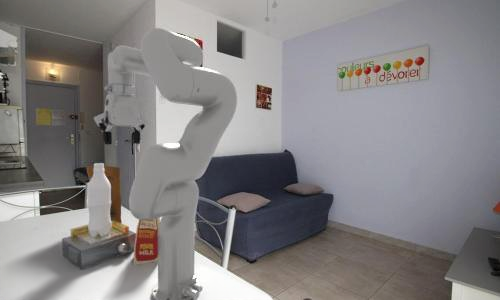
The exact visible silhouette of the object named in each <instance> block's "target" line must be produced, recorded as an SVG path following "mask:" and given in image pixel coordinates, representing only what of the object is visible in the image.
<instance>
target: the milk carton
mask: <svg viewBox="0 0 500 300" xmlns="http://www.w3.org/2000/svg"><path fill="white" fill-rule="evenodd" d="M160 221H161V217H159V218H155V219H151V220H139V219H138V221H137V226H136V230H135V233H136V237H135V244H134V250H133V265H140V264H141V265H142V264H149V263H158V228H159V224H160Z"/></svg>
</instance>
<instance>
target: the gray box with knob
mask: <svg viewBox="0 0 500 300" xmlns="http://www.w3.org/2000/svg"><path fill="white" fill-rule="evenodd" d="M111 222H112V227H111V231H110V232H109V233H107V235H105V236H100V234H99V233H98V235H97V236H96V237H92V236H91V235H90V233H89V230H88V224H84V225H82V226H77V227H74V228H70V235H69V236H67V237H63V238H61V244H62V245H61V246H62V248H61V249H62V257H64V258H65V259H66V260H68V261H70V262H71V263H72V264H73V265H75V266H76V267H77V268H79V270H85V269H87V268H88V269H89V268H90V267H93V266H96V265H98V264H101V263H104V262H106V261H109V260H111V259H114V258H117V257H120V256H122V255H125V254H127V253H130V252H134V244H135V237H136V232H134V231H132V230H130V226H128V225H126V224H124V223H119V222H117V221H115V220H111Z"/></svg>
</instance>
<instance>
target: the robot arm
mask: <svg viewBox="0 0 500 300" xmlns="http://www.w3.org/2000/svg"><path fill="white" fill-rule="evenodd" d="M202 50H203V49H202V48H201V46H200V45H199V43H197V42H196V41H195V40H194V39H192V38H189V37H187V36H185V35H181V34H179V33H176V32H173V31H170V30H168V29H165V28H161V27H155V28H151V29H149V30H147V31H146V33H144V35H143V36H142V39H141V42H140V48H135V47H132V46H128V45H124V44H123V45H122V44H121V45H118V46H116V47H115V49H113V51H110V52H109V53H108V55H107V74H108V75H107V79H108V81H107V82H108V83H107V85H105V86H104V88H103V89H104V91H107V95H106V96H105V102H104V103H105V104H104V111H103V113H101V114H98V115H96V116H94V117H93V121H94V122H95V123H96V126H97V127H98V128H99V130H101V132H102V133H103V134H102V137H103V142H104V145H110V146H111V145H112V144H113V141H112V140H113V138H112V131H111V130H112V128H113V127H130V128H131V129H132V130H133V132H132V143H133V144H139V145H140V143H141V133H142V131H143V130H144V128H145V126H146V124H147V121H148V120H147V119H146V118H144V117H142V116H141V115H140V105H139V101H138V98H137V96H135V78H134V77H135V76H134V74H137V75H141V76H146V77H151V79H152V80H153V83H154V84H155V86H156V88H157V90H158V92H159V93H160V95H161V96H162V97H163V98H164V99H165V100H167V101H169V102H171V103H174V104H178V105H187V106H197V107H202V109H201V110H199V112H198V113H196V114H195V115H194V116H193V117H191V119H190V120H189V121H188V123H187V124H186V126H185V128H184V131H183V133H182V136H181V137H180V139H179V140H178V141H176V142H172V143H171V142H169V143H167V142H166V143H156V144H154V145H151V146H150V147H148V148H147V149H146V150H145V151H144V153H143V154H142V156H141V158H140V162H139V164H138V168H137V170H136V173H135V177H134V179H133V182H132V185H131V188H130V191H129V198H128V207H129V210H130V213H131V215H132V216H133V217H135V219H137V220H138V221H139V220H151V219H155V218H159V217H160V224H159V228H158V262H157V282H156V283H155V284H154V285H153V286H152V289H151V296H152V298H153V300H198V299H199V296H200V292H202V291H203V286H201V282H200V280H199V279H198V275H197V276H196V275H195V246H196V245H195V241H196V240H195V239H196V238H195V234H196V233H195V231H196V226H195V225H196V213H197V207H198V203H199V196H200V195H199V194H200V189H199V186H198V183H197V181H196V180H198V179H200V178H201V177H203V175H204V174H205V172H206V171H207V168H208V167H209V164H210V162H211V161H212V159H213V156H214V153H215V152H216V150H217V148H218V145H219V143H220V141H221V139H222V137H223V136H224V134H225V133H226V130H227V129H228V127H229V126H230V124H231V122H232V120H233V118H234V116H235V112H236V110H237V104H238V103H237V102H238V96H237V90H236V86H235V85H234V83H233V82H232V80H231V79H230V78H229V77H228V76H226V75H224V74H223V73H220V72H218V71H215V70H212V69H209V68H204V67H201V66H202V64H203V61H204V53H203V51H202ZM103 119H104V120H103ZM102 120H103V121H104V123H103V121H102Z"/></svg>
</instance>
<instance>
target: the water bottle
mask: <svg viewBox="0 0 500 300" xmlns="http://www.w3.org/2000/svg"><path fill="white" fill-rule="evenodd" d="M93 166H94V168H93V169H94V170H93V171H94V173H93V176H92V178H91V180H90V179H89V182H88V184H87V188H86V190H87V209H88V213H89V216H88V217H89V218H88V219H89V220H88V223H87V225H88V230H89V233H90V235H91V236H92V237H96V236H97V235H98V233H99V234H100V236H105V235H107V233H109V232H110V231H111V227H112V222H111V218H110V207H111V185H110V182H109V180H108V179H107V177H106V176H105V173H104V170H105V169H104V166H105V164H104V162H99V163H96V162H95V163H94V164H93Z"/></svg>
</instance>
